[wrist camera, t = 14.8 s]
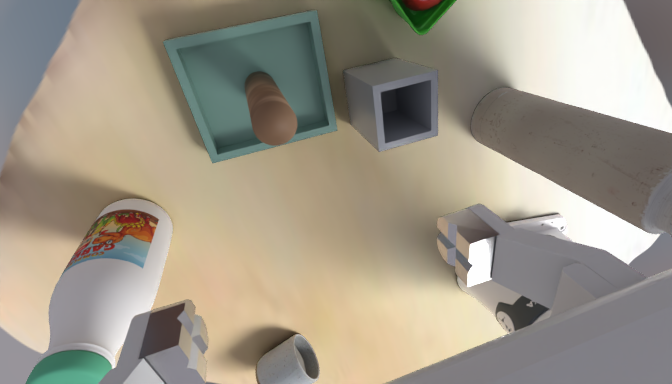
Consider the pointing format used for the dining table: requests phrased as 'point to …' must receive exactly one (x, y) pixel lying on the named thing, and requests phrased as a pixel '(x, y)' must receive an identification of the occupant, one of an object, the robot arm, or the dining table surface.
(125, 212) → the milk bottle
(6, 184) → the dining table surface
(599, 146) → the thermos bottle
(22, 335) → the dining table surface
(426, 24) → the fruit basket
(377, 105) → the pen cup
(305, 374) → the ceramic mug
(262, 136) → the dowel pin
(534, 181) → the dining table surface
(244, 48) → the tray
